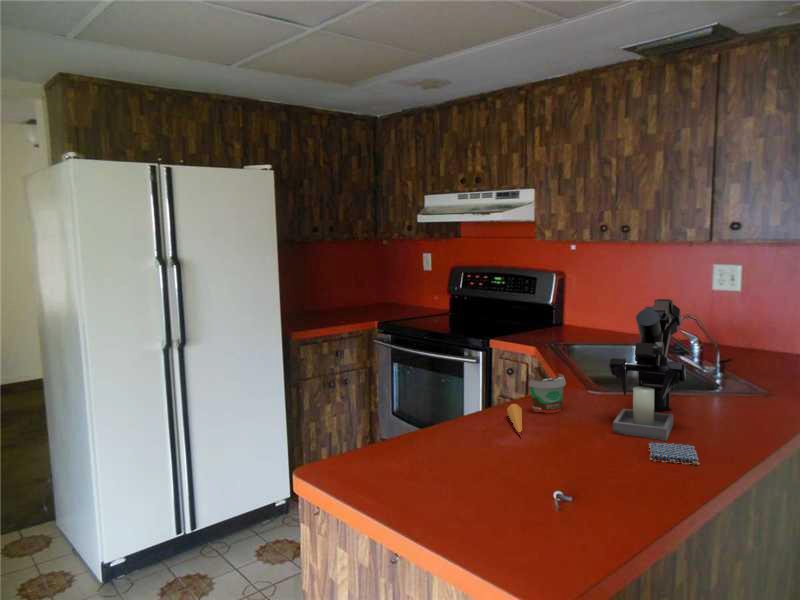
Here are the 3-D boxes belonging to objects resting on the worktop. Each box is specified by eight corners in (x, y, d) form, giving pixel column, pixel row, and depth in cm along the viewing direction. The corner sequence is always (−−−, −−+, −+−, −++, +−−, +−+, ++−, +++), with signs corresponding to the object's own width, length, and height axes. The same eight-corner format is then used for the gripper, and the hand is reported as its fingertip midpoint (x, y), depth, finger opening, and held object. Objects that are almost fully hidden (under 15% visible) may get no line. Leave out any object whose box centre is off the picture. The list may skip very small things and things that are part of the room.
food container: (542, 417, 170) (542, 383, 169) (529, 412, 175) (528, 379, 174) (575, 410, 175) (574, 377, 174) (560, 405, 181) (560, 373, 180)
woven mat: (694, 451, 142) (694, 443, 142) (700, 468, 132) (700, 459, 132) (647, 447, 146) (647, 439, 145) (649, 463, 136) (649, 455, 135)
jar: (628, 425, 157) (629, 388, 156) (640, 421, 160) (640, 385, 159) (646, 430, 153) (646, 392, 152) (658, 425, 156) (658, 389, 155)
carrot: (509, 418, 173) (503, 405, 172) (524, 412, 172) (517, 399, 172) (516, 450, 154) (509, 435, 153) (532, 443, 153) (525, 429, 152)
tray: (612, 433, 155) (612, 422, 154) (622, 418, 166) (622, 408, 165) (666, 440, 148) (666, 429, 148) (673, 425, 159) (673, 414, 159)
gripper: (610, 328, 162) (601, 377, 154) (685, 332, 153) (679, 384, 145) (616, 351, 170) (608, 398, 162) (688, 356, 160) (682, 406, 152)
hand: (643, 396), depth 155 cm, fingers open, 9 cm apart
